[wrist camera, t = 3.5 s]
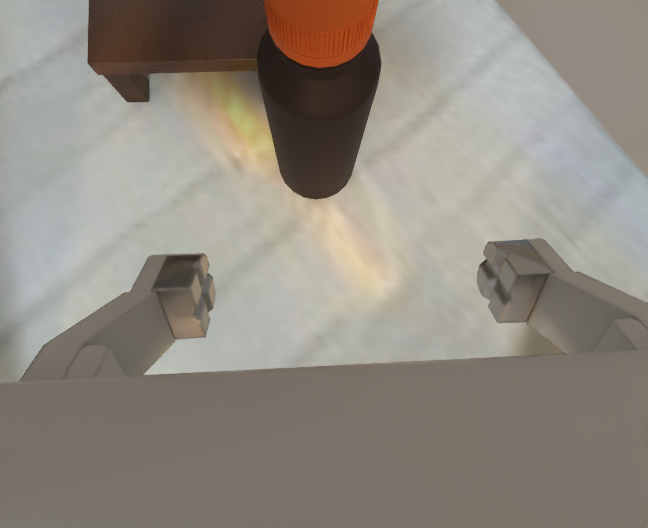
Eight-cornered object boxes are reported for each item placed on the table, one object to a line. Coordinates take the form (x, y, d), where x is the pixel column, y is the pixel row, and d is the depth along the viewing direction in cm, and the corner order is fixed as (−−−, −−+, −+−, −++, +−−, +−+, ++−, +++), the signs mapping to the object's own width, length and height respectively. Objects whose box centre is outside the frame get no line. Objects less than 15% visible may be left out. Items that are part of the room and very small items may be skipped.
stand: (125, 104, 35) (87, 63, 29) (126, -41, 37) (91, -107, 31) (286, 99, 36) (281, 58, 30) (280, -43, 38) (274, -109, 32)
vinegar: (353, 131, 36) (405, -91, 16) (352, 201, 35) (404, 59, 15) (281, 128, 36) (241, -100, 16) (277, 199, 35) (232, 52, 15)
